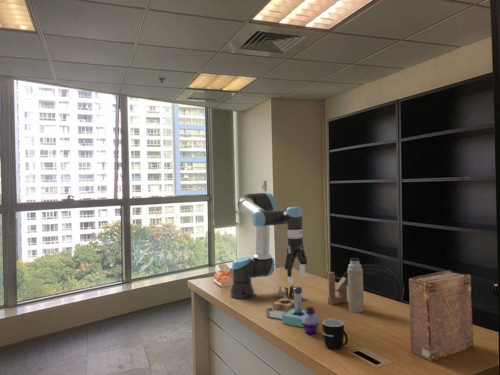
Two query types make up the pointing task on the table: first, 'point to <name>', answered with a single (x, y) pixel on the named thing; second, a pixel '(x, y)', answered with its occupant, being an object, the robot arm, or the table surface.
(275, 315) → the pale gray faceted bar
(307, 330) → the potion bottle
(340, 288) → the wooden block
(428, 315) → the book
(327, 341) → the mug
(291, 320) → the socket block
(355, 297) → the thermos bottle
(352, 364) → the table surface
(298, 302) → the metal flashlight
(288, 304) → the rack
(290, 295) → the bike brake
